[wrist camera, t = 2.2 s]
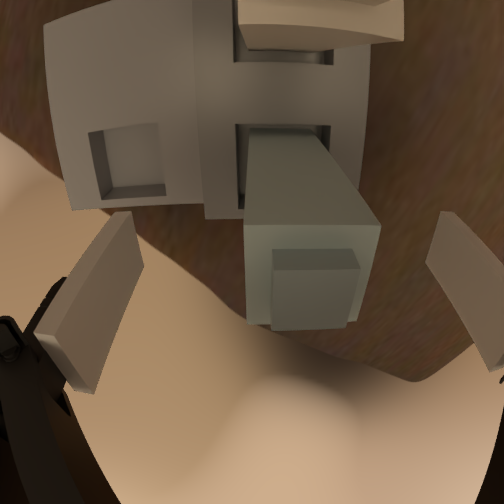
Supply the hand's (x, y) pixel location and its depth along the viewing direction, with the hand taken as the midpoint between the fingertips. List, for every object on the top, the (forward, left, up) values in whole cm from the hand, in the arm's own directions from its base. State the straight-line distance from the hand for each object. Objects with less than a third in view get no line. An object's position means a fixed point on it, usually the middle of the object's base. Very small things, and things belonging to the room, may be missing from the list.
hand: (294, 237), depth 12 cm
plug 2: (0, 0, -10) cm, 10 cm away
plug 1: (-10, 0, -10) cm, 14 cm away
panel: (-5, -6, -13) cm, 15 cm away
